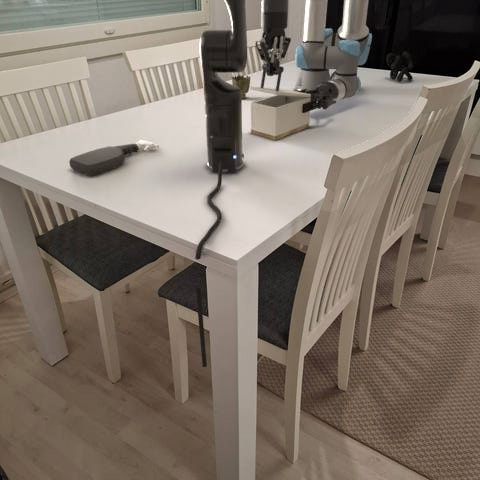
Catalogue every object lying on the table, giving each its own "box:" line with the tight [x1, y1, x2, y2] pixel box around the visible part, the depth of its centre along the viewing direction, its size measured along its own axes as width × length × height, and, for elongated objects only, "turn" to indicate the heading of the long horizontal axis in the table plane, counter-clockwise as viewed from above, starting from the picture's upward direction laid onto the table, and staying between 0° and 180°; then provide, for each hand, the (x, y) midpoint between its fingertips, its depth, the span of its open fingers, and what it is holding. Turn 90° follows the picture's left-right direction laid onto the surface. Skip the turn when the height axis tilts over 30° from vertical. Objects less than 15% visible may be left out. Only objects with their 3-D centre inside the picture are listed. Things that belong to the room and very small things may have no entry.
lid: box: [249, 63, 311, 97], centre depth 136 cm, size 18×10×8 cm, turn 136°
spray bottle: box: [68, 139, 160, 177], centre depth 124 cm, size 3×11×24 cm
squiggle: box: [385, 51, 414, 83], centre depth 198 cm, size 11×10×15 cm
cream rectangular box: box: [250, 95, 311, 141], centre depth 142 cm, size 17×10×10 cm, turn 136°
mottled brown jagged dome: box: [231, 74, 252, 99], centre depth 177 cm, size 8×7×8 cm
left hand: (272, 74), depth 132 cm, fingers closed on lid, 2 cm apart
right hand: (289, 105), depth 143 cm, fingers closed on cream rectangular box, 10 cm apart
